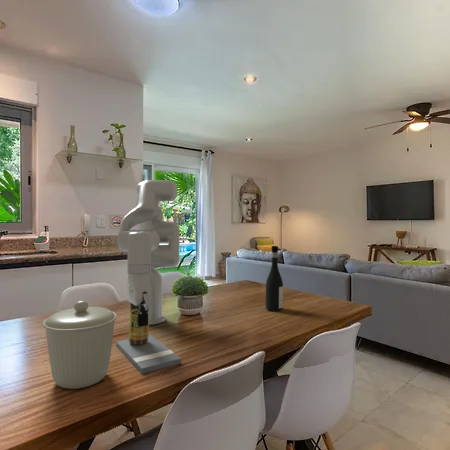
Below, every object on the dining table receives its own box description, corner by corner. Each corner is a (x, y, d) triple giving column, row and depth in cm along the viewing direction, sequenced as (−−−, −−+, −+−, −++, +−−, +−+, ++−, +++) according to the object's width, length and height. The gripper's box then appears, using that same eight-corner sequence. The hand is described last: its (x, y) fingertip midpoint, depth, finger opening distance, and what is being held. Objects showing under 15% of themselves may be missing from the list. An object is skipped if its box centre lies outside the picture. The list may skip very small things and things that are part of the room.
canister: (81, 404, 77) (81, 313, 77) (26, 389, 84) (25, 305, 83) (130, 371, 94) (130, 296, 94) (81, 360, 101) (81, 291, 100)
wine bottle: (282, 307, 161) (282, 245, 161) (283, 312, 153) (284, 247, 153) (265, 307, 162) (266, 245, 161) (265, 311, 154) (266, 246, 153)
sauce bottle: (128, 346, 107) (128, 285, 107) (129, 339, 113) (129, 281, 113) (149, 344, 109) (149, 284, 109) (148, 338, 115) (148, 280, 115)
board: (116, 345, 112) (116, 341, 112) (150, 338, 119) (150, 334, 119) (141, 373, 92) (141, 368, 92) (180, 363, 99) (180, 358, 99)
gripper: (120, 266, 116) (120, 318, 116) (137, 273, 101) (137, 332, 102) (141, 264, 120) (141, 314, 120) (160, 271, 105) (160, 328, 106)
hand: (139, 322), depth 111 cm, fingers closed on sauce bottle, 6 cm apart
